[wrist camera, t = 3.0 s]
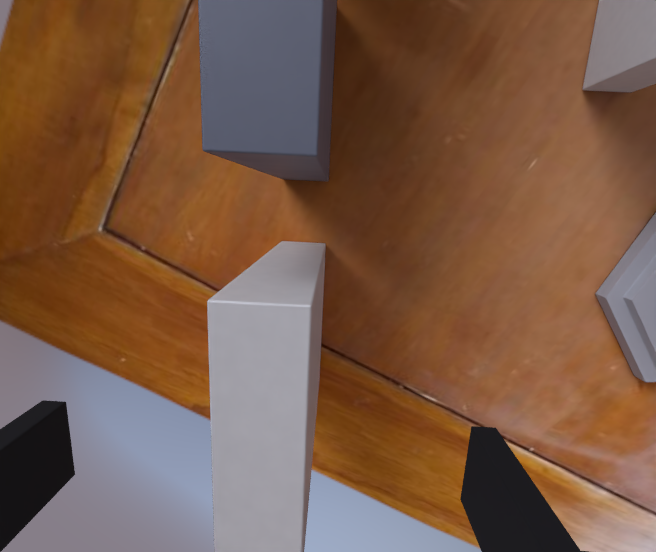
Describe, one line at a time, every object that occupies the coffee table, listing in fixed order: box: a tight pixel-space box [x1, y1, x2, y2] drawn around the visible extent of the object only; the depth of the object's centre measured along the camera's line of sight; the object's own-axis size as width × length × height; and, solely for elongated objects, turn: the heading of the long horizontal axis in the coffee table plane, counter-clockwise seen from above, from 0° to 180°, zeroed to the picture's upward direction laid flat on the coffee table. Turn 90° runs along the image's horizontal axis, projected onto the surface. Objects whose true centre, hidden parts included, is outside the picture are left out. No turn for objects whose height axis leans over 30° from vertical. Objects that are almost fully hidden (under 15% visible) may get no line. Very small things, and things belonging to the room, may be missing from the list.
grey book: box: [198, 0, 337, 181], centre depth 15 cm, size 10×3×14 cm, turn 177°
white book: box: [207, 241, 326, 552], centre depth 18 cm, size 10×3×14 cm, turn 177°
